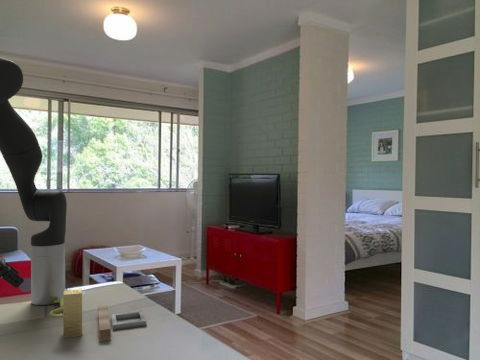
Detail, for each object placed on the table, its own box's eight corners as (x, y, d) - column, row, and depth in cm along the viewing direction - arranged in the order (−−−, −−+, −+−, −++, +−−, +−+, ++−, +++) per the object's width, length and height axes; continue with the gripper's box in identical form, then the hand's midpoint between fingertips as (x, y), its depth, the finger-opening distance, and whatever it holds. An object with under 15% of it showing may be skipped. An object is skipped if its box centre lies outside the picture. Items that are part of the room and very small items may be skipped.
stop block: (64, 331, 97) (64, 290, 97) (82, 329, 99) (82, 288, 99) (63, 337, 94) (63, 295, 94) (82, 335, 95) (81, 293, 95)
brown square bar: (98, 315, 109) (98, 306, 109) (107, 314, 109) (107, 305, 109) (99, 341, 92) (99, 330, 92) (110, 339, 93) (110, 328, 92)
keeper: (111, 319, 106) (111, 314, 106) (142, 315, 109) (142, 310, 109) (112, 329, 98) (112, 324, 98) (146, 325, 101) (146, 320, 101)
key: (62, 304, 120) (62, 297, 120) (81, 314, 111) (81, 306, 111) (36, 310, 114) (36, 302, 114) (54, 321, 106) (54, 313, 106)
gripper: (-30, 222, 78) (36, 272, 85) (-32, 216, 90) (26, 261, 97) (-63, 252, 75) (8, 302, 82) (-61, 242, 87) (1, 286, 94)
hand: (18, 280), depth 89 cm, fingers open, 8 cm apart
